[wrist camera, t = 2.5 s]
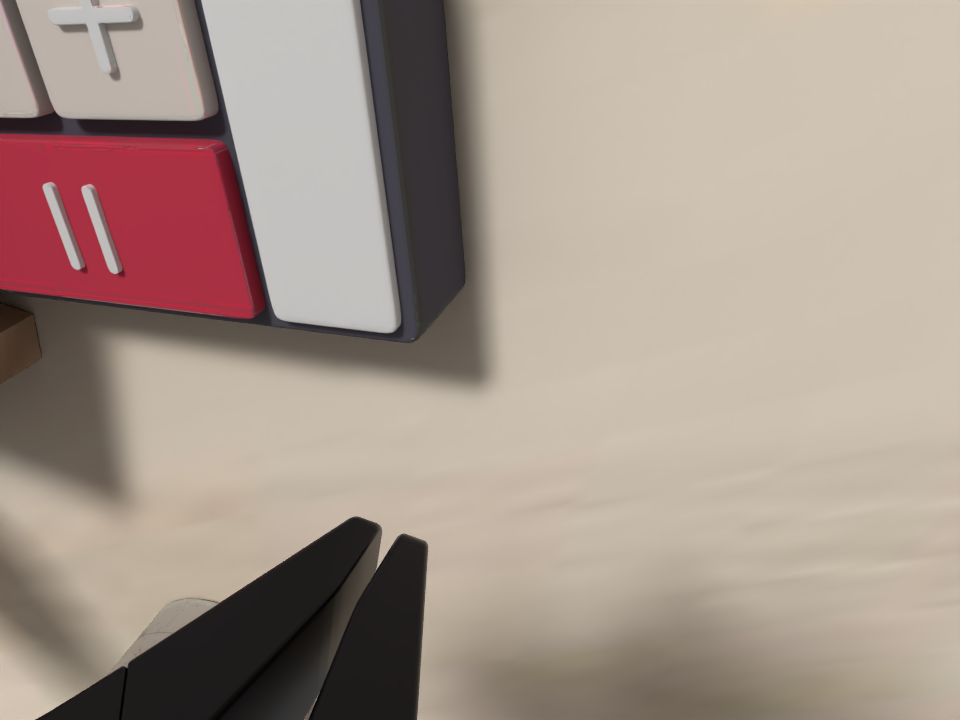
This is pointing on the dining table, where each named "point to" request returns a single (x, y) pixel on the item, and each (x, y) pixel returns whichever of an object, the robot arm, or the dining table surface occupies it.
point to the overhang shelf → (17, 341)
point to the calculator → (232, 160)
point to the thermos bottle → (166, 626)
